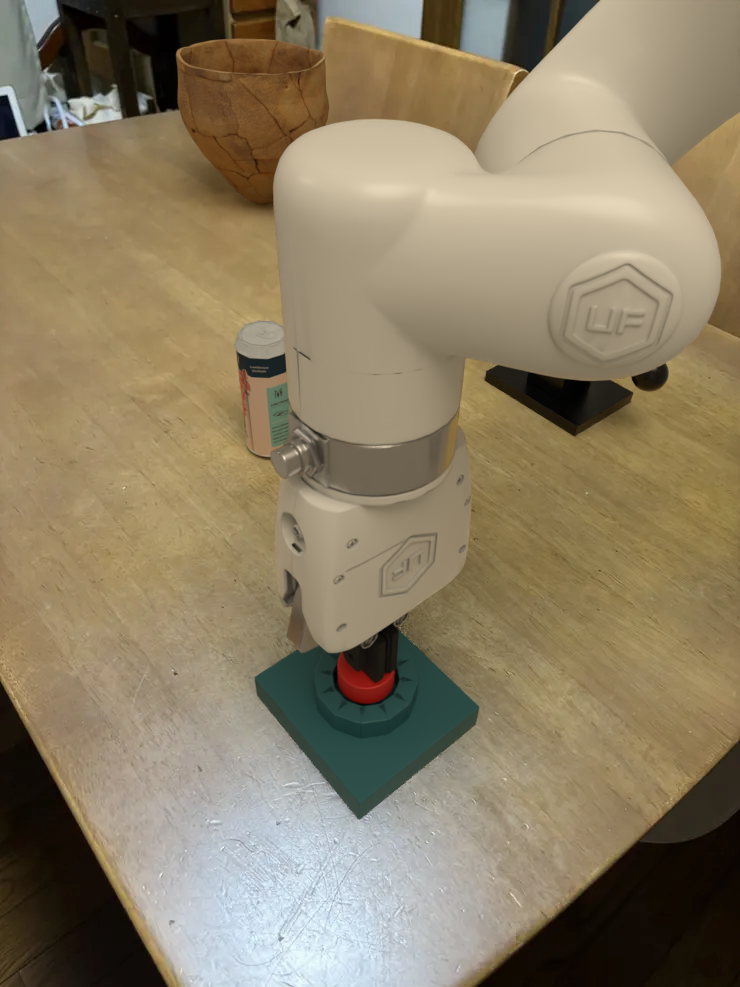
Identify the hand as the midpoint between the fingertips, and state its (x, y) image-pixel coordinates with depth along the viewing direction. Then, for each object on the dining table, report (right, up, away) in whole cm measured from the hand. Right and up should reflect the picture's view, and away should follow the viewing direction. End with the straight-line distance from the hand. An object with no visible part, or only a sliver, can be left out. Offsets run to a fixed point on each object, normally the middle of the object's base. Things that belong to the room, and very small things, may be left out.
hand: (369, 660), depth 46 cm
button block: (0, -4, +4) cm, 6 cm away
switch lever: (+22, +24, +24) cm, 41 cm away
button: (0, -2, +1) cm, 2 cm away
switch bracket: (+19, +21, +31) cm, 42 cm away
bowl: (-16, +54, +66) cm, 86 cm away
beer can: (-9, +15, +24) cm, 30 cm away
